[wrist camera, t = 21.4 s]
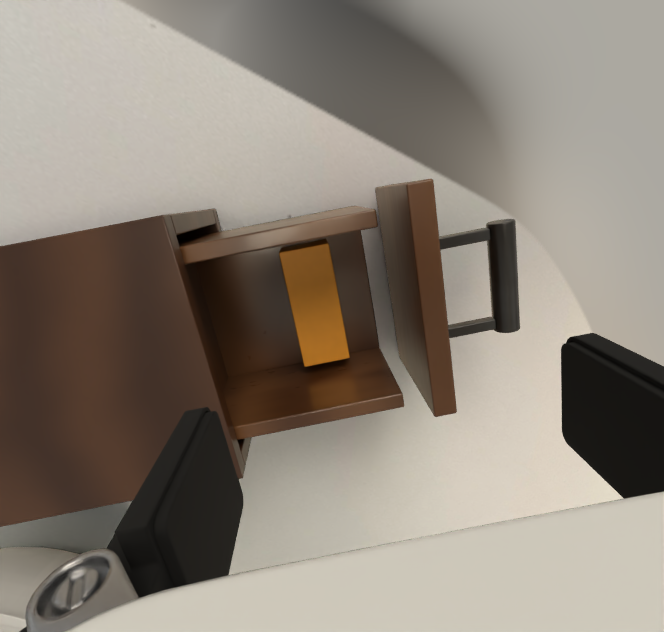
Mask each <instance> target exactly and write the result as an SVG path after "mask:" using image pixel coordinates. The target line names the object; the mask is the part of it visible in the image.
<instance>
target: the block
mask: <svg viewBox="0 0 664 632" xmlns="http://www.w3.org/2000/svg"><path fill="white" fill-rule="evenodd" d="M279 256H280V261H281V265H282V269H283V274H284V278H285V283H286V287H287V292H288V296H289V301H290V305H291V310H292V314H293V318H294V323H295V327H296V332H297V336H298V341H299V345H300V350H301V354H302V359H303V363H304V366H305V367H307V366H312V365H317V364H322V363H327V362H332V361H337V360H342V359H347V358H350V355H349V350H348V344H347V339H346V334H345V328H344V323H343V317H342V312H341V307H340V301H339V296H338V290H337V285H336V280H335V274H334V269H333V264H332V258H331V253H330V247H329V243H328V241H327V240H326V239H322V240H317V241H311V242H306V243H301V244H296V245H291V246H286V247H282V248H281V250H280V252H279Z"/></svg>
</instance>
